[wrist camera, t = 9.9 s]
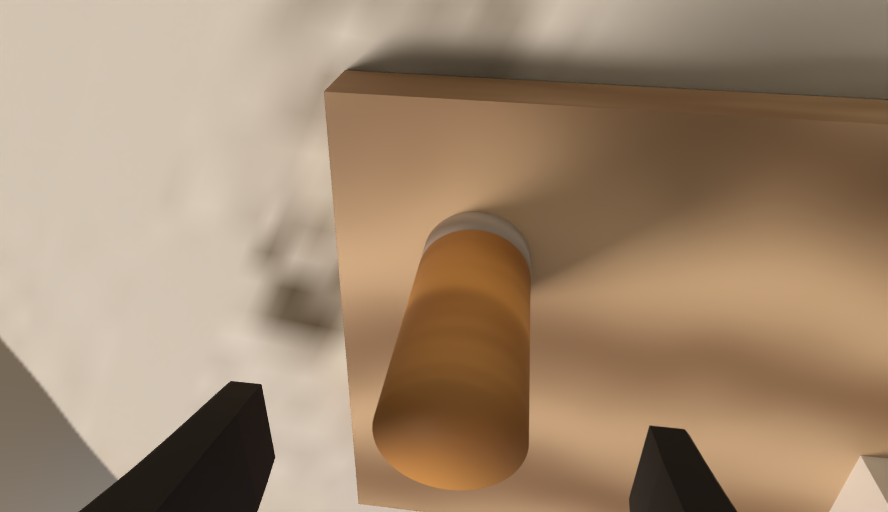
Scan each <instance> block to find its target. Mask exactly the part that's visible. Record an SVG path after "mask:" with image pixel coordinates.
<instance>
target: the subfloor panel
mask: <svg viewBox="0 0 888 512" xmlns="http://www.w3.org/2000/svg"><path fill="white" fill-rule="evenodd" d="M324 98H325V110H326V122H327V133H328V145H329V157H330V169H331V181H332V193H333V205H334V217H335V228H336V240H337V252H338V264H339V276H340V288H341V300H342V312H343V324H344V335H345V347H346V359H347V371H348V383H349V395H350V407H351V419H352V430H353V442H354V454H355V466H356V478H357V490H358V502H359V504H364V505H372V506H381V507H389V508H397V509H405V510H413V511H421V512H630V508H629V496H630V493H631V489H632V486H633V482H634V478H635V475H636V471H637V468H638V464H639V461H640V457H641V454H642V450H643V446H644V443H645V439H646V436H647V432H648V429H649V425H651V426H660V427H670V428H679V429H685V430H686V431H687V432H688V434H689V435H690V437H691V438H692V440H693V442H694V443H695V445H696V447H697V448H698V450H699V452H700V453H701V455H702V457H703V458H704V460H705V462H706V463H707V465H708V466H709V468H710V470H711V471H712V473H713V474H714V476H715V478H716V479H717V481H718V482H719V484H720V486H721V487H722V489H723V490H724V492H725V493H726V495H727V497H728V498H729V500H730V501H731V503H732V504H733V506H734V507H735V509H736V510H737V512H829V511H830V509H831V508H832V506H833V504H834V502H835V500H836V499H837V497H838V495H839V493H840V491H841V490H842V488H843V486H844V484H845V482H846V481H847V479H848V477H849V475H850V473H851V472H852V470H853V468H854V466H855V464H856V463H857V461H858V459H859V457H860V455H861V456H871V457H880V458H888V100H882V99H863V98H845V97H827V96H808V95H790V94H772V93H753V92H735V91H717V90H698V89H680V88H662V87H644V86H625V85H607V84H589V83H570V82H552V81H534V80H515V79H497V78H479V77H460V76H442V75H424V74H405V73H387V72H369V71H350V70H345V71H344V72H343V73H342V74H341V75H340V76H339V77H338V78H337V79H336V80H335V81H334V82H333V83H332V84H331V85H330V86H329V87H328V88H327V89H326V90H325V91H324ZM472 211H474V212H486V213H490V214H494V215H497V216H499V217H501V218H503V219H505V220H507V221H509V222H510V223H511V224H513V225H514V226H515V227H516V228H517V229H518V230H519V231H520V232H521V233H522V235H523V236H524V238H525V239H526V241H527V244H528V246H529V250H530V255H531V288H530V397H529V449H528V453H527V456H526V458H525V461H524V462H523V464H522V465H521V467H520V468H519V469H518V470H517V471H516V472H515V473H514V474H513V475H511V476H510V477H509V478H507V479H505V480H504V481H502V482H500V483H497V484H495V485H492V486H489V487H486V488H481V489H476V490H460V491H457V490H446V489H440V488H435V487H431V486H428V485H425V484H422V483H419V482H417V481H415V480H412V479H410V478H409V477H407V476H405V475H403V474H402V473H400V472H399V471H398V470H396V469H395V468H394V467H393V466H391V465H390V464H389V463H388V462H387V461H386V459H385V458H384V457H383V456H382V454H381V453H380V452H379V450H378V448H377V446H376V444H375V441H374V438H373V432H372V423H373V418H374V414H375V411H376V408H377V404H378V401H379V398H380V394H381V391H382V388H383V384H384V381H385V377H386V374H387V371H388V367H389V364H390V361H391V357H392V354H393V351H394V347H395V344H396V340H397V337H398V334H399V330H400V327H401V324H402V320H403V317H404V314H405V310H406V307H407V303H408V300H409V297H410V293H411V290H412V287H413V283H414V280H415V277H416V273H417V270H418V266H419V263H420V260H421V256H422V253H423V250H424V246H425V243H426V241H427V238H428V236H429V235H430V233H431V231H432V230H433V229H434V228H435V227H436V226H437V225H438V224H439V223H440V222H442V221H443V220H445V219H447V218H448V217H450V216H453V215H456V214H459V213H463V212H472Z"/></svg>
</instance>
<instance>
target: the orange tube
mask: <svg viewBox="0 0 888 512" xmlns="http://www.w3.org/2000/svg"><path fill="white" fill-rule="evenodd" d="M530 288H531V255H530V250H529V246H528V244H527V241H526V239H525V238H524V236H523V235H522V233H521V232H520V231H519V230H518V229H517V228H516V227H515V226H514V225H513V224H511V223H510V222H509V221H507V220H505V219H503V218H501V217H499V216H497V215H494V214H490V213H486V212H474V211H472V212H463V213H459V214H456V215H453V216H450V217H448V218H447V219H445V220H443V221H442V222H440V223H439V224H438V225H437V226H436V227H435V228H434V229H433V230H432V231H431V233H430V235H429V236H428V238H427V241H426V243H425V246H424V250H423V253H422V256H421V260H420V263H419V266H418V270H417V273H416V277H415V280H414V283H413V287H412V290H411V293H410V297H409V300H408V303H407V307H406V310H405V314H404V317H403V320H402V324H401V327H400V330H399V334H398V337H397V340H396V344H395V347H394V351H393V354H392V357H391V361H390V364H389V367H388V371H387V374H386V377H385V381H384V384H383V388H382V391H381V394H380V398H379V401H378V404H377V408H376V411H375V414H374V418H373V423H372V432H373V438H374V441H375V444H376V446H377V448H378V450H379V452H380V453H381V454H382V456H383V457H384V458H385V459H386V461H387V462H388V463H389V464H390V465H391V466H393V467H394V468H395V469H396V470H398V471H399V472H400V473H402V474H403V475H405V476H407V477H409V478H410V479H412V480H415V481H417V482H419V483H422V484H425V485H428V486H431V487H435V488H440V489H446V490H457V491H460V490H476V489H481V488H486V487H489V486H492V485H495V484H497V483H500V482H502V481H504V480H505V479H507V478H509V477H510V476H511V475H513V474H514V473H515V472H516V471H517V470H518V469H519V468H520V467H521V465H522V464H523V462H524V461H525V458H526V456H527V453H528V449H529V397H530Z"/></svg>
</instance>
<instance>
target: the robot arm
mask: <svg viewBox="0 0 888 512" xmlns="http://www.w3.org/2000/svg"><path fill="white" fill-rule="evenodd" d="M274 459H275V454H274V449H273V443H272V438H271V433H270V427H269V422H268V417H267V411H266V406H265V401H264V395H263V390H262V385H261V384H253V383H244V382H234V381H230V382H229V383H228V384H227V385H226V386H224V387H223V388H222V389H221V390H220V391H219V392H218V393H217V394H215V395H214V396H213V397H212V398H211V399H210V400H209V401H208V402H207V403H206V404H204V405H203V406H202V407H201V408H200V409H199V410H198V411H197V412H196V413H195V414H194V415H192V416H191V417H190V418H189V419H188V420H187V421H186V422H185V423H184V424H183V425H181V426H180V427H179V428H178V429H177V430H176V431H175V432H174V433H173V434H171V435H170V436H169V437H168V438H167V439H166V440H165V441H163V442H162V443H161V444H160V445H159V446H158V447H157V448H155V449H154V450H153V451H152V452H151V453H150V454H149V455H147V456H146V457H145V458H144V459H143V460H142V461H141V462H139V463H138V464H137V465H136V466H135V467H134V468H132V469H131V470H130V471H129V472H128V473H126V474H125V475H124V476H123V477H121V478H120V479H119V480H118V481H117V482H115V483H114V484H113V485H112V486H110V487H109V488H108V489H107V490H105V491H104V492H103V493H102V494H100V495H99V496H98V497H97V498H95V499H94V500H93V501H92V502H90V503H89V504H88V505H87V506H86V507H84V508H83V509H82V510H80V511H79V512H257V511H258V508H259V505H260V502H261V500H262V497H263V494H264V491H265V488H266V485H267V482H268V478H269V475H270V472H271V469H272V466H273V463H274ZM629 508H630V512H737V510H736V509H735V507H734V506H733V504H732V503H731V501H730V500H729V498H728V497H727V495H726V493H725V492H724V490H723V489H722V487H721V486H720V484H719V482H718V481H717V479H716V478H715V476H714V474H713V473H712V471H711V470H710V468H709V466H708V465H707V463H706V462H705V460H704V458H703V457H702V455H701V453H700V452H699V450H698V448H697V447H696V445H695V443H694V442H693V440H692V438H691V437H690V435H689V434H688V432H687V431H686V430H685V429H679V428H670V427H660V426H651V425H649V429H648V432H647V436H646V439H645V443H644V446H643V450H642V454H641V457H640V461H639V464H638V468H637V471H636V475H635V478H634V482H633V486H632V489H631V493H630V496H629Z"/></svg>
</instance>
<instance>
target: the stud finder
mask: <svg viewBox="0 0 888 512" xmlns="http://www.w3.org/2000/svg"><path fill="white" fill-rule="evenodd" d="M829 512H888V458H880V457H871V456H861V455H860V457H859V459H858V461H857V463H856V464H855V466H854V468H853V470H852V472H851V473H850V475H849V477H848V479H847V481H846V482H845V484H844V486H843V488H842V490H841V491H840V493H839V495H838V497H837V499H836V500H835V502H834V504H833V506H832V508H831V509H830V511H829Z"/></svg>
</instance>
